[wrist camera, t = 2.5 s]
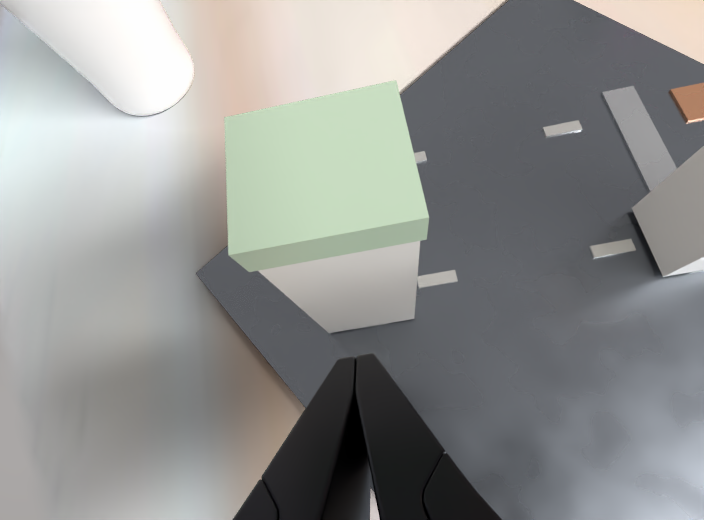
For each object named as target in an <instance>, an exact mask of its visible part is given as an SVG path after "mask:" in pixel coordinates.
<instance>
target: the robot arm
mask: <svg viewBox="0 0 704 520" xmlns="http://www.w3.org/2000/svg"><path fill="white" fill-rule="evenodd" d="M371 477H372V482H373V487H374V492H375V497H376V502H377V507H378V512H379V517H380V520H502V519H501V518H500V517H499V515H498V514H497V513H496V512H495V511H494V510H493V509H492V508H491V507H490V505H489V504H488V503H487V502H486V501H485V500H484V499H483V498H482V496H481V495H480V494H479V493H478V492H477V491H476V490H475V488H474V487H473V486H472V484H471V483H470V482H469V481H468V479H467V478H466V477H465V476H464V474H463V473H462V472H461V471H460V469H459V468H458V467H457V465H456V464H455V463H454V461H453V460H452V458H451V457H450V456H449V454H448V453H446V451H445V449H444V448H443V446H442V445H441V444H440V442H439V441H438V440H437V438H436V437H435V436H434V434H433V433H432V431H431V430H430V429H429V427H428V426H427V425H426V423H425V422H424V421H423V419H422V418H421V416H420V415H419V414H418V412H417V411H416V410H415V408H414V407H413V406H412V404H411V403H410V401H409V400H408V399H407V397H406V396H405V395H404V393H403V392H402V391H401V389H400V388H399V386H398V385H397V384H396V382H395V381H394V380H393V378H392V377H391V376H390V374H389V373H388V371H387V370H386V369H385V367H384V366H383V365H382V363H381V362H380V360H379V359H378V358H377V356H376V355H375V354H374V353H369V354H363V355H358V356H357V358H355V357H354V356H351V357H345V358H340V359H338V360H337V361H336V362H335V364H334V366H333V367H332V369H331V370H330V372H329V373H328V375H327V376H326V378H325V379H324V381H323V383H322V384H321V386H320V387H319V389H318V390H317V392H316V393H315V395H314V396H313V398H312V399H311V401H310V403H309V404H308V406H307V407H306V409H305V410H304V412H303V413H302V415H301V416H300V418H299V420H298V421H297V423H296V424H295V426H294V427H293V429H292V430H291V432H290V433H289V435H288V437H287V438H286V440H285V441H284V443H283V444H282V446H281V447H280V449H279V450H278V452H277V453H276V455H275V457H274V458H273V460H272V461H271V463H270V464H269V466H268V467H267V469H266V470H265V472H264V474H263V475H262V480H259V481H258V482H257V484H256V486H255V487H254V489H253V490H252V492H251V493H250V495H249V496H248V498H247V499H246V501H245V502H244V504H243V505H242V507H241V508H240V510H239V511H238V512H237V514H236V515H235V517H234V518H233V520H370V479H371Z"/></svg>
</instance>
